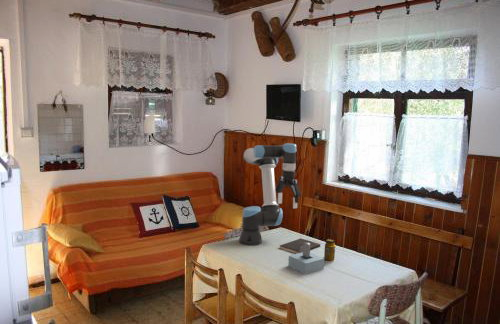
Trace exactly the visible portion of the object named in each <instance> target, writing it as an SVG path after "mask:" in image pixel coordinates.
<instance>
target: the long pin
mask: <svg viewBox="0 0 500 324" xmlns="http://www.w3.org/2000/svg"><path fill="white" fill-rule="evenodd" d="M310 253H311V250H310V243H309V242H304V243H303V258H304V259H306V260H307V259H310Z"/></svg>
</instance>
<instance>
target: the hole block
mask: <svg viewBox="0 0 500 324" xmlns="http://www.w3.org/2000/svg"><path fill="white" fill-rule="evenodd" d="M287 264H288V267H290V268H292V269H294V270H296V271H299V272H301V273H302V274H305V275H307V274H310V273H311V274H312V273H315V272H317V271H318V272H319V271H321V270H324V268H325V262H324V257H321V256H319V255H316V254H314V253H312V252H310V259H307V260H306V259H304V258H303V252H302V253H298V254H296V253H293V254H290V255H288V263H287Z"/></svg>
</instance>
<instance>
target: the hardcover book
mask: <svg viewBox="0 0 500 324" xmlns="http://www.w3.org/2000/svg"><path fill="white" fill-rule="evenodd" d="M304 242H309V243H310V251H313V250H315V249H317V248H321V244H320V243H318V242H315V241H311V240H307V239H304V238H297V239H295V240H293V241H289V242H285V243H283V244H280V245H279V249H281V250H285V251H288V252H291V253H293V254H298V253H300V247H302V246H303V243H304Z"/></svg>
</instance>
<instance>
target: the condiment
mask: <svg viewBox="0 0 500 324" xmlns="http://www.w3.org/2000/svg"><path fill="white" fill-rule="evenodd" d="M335 242H336V241H335V240H334V239H333V238H327V239H326V240H325V244H324V252H323V253H324V256H323V258H324V263H326V264H328V263H331V262H336V261H338V259H336V258H335V254H336V244H335Z"/></svg>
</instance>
